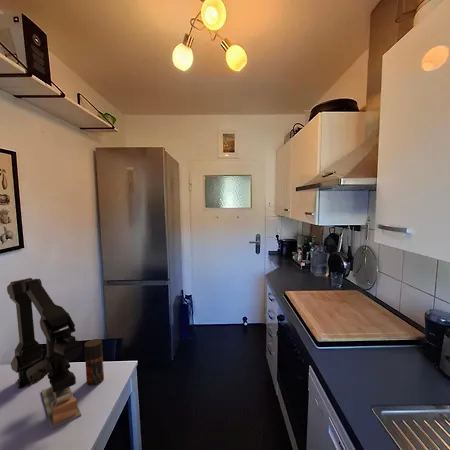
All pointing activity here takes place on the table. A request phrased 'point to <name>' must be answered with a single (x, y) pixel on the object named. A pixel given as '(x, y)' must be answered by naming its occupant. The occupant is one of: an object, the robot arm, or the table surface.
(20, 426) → the table surface
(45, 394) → the rail
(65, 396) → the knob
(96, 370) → the deodorant
